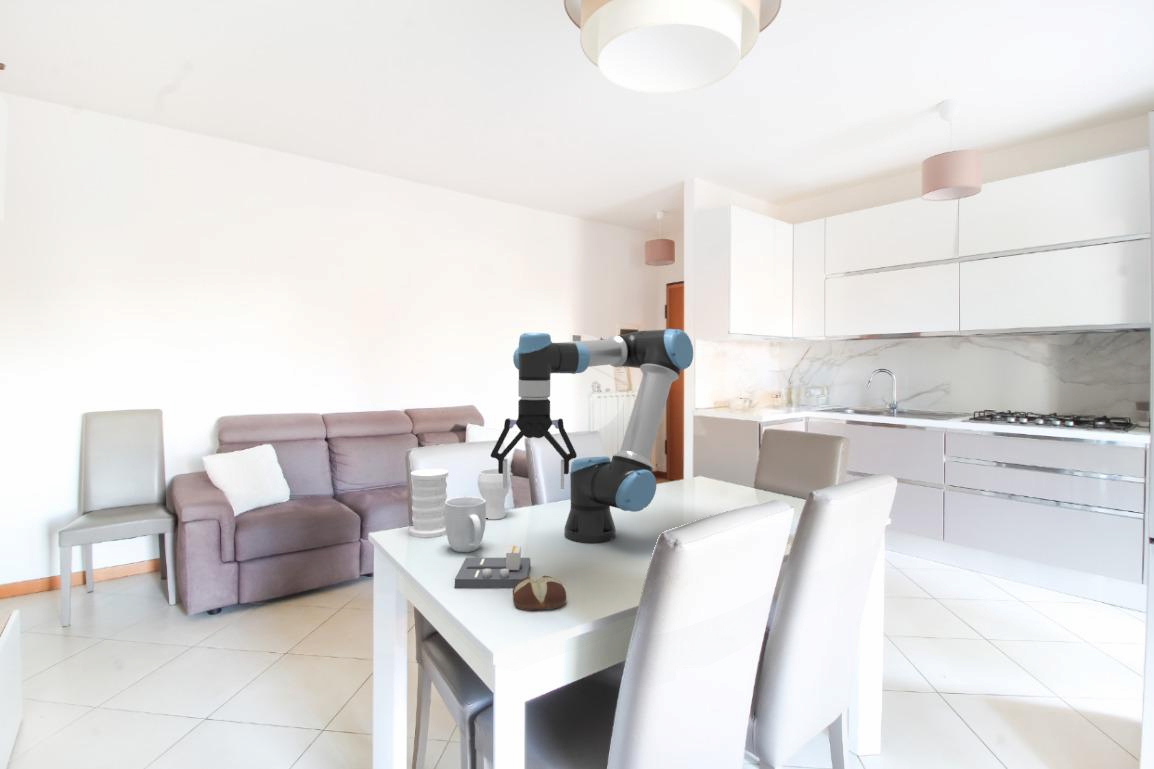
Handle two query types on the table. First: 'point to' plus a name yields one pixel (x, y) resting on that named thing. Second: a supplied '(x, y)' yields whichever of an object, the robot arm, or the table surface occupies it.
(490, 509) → the cup
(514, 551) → the fader cap
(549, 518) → the table surface
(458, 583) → the console
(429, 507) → the decorative container
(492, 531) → the table surface
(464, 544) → the mug
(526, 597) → the bread
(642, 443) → the robot arm
